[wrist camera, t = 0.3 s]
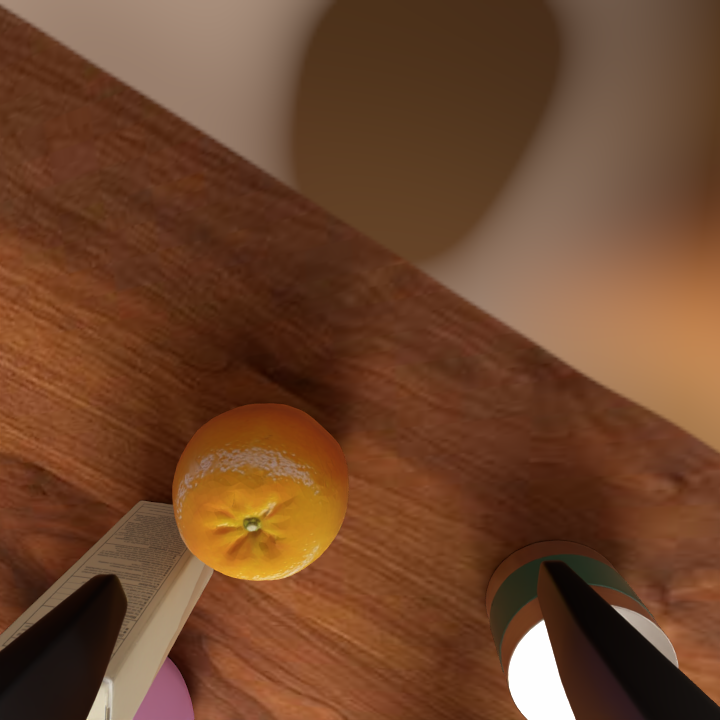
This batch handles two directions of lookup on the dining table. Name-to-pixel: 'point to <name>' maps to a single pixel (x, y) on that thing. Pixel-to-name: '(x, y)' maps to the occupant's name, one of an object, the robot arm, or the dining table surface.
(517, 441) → the dining table surface
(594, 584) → the tin can
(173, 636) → the box
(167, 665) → the teapot
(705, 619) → the dining table surface
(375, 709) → the dining table surface
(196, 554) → the fruit
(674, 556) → the dining table surface
